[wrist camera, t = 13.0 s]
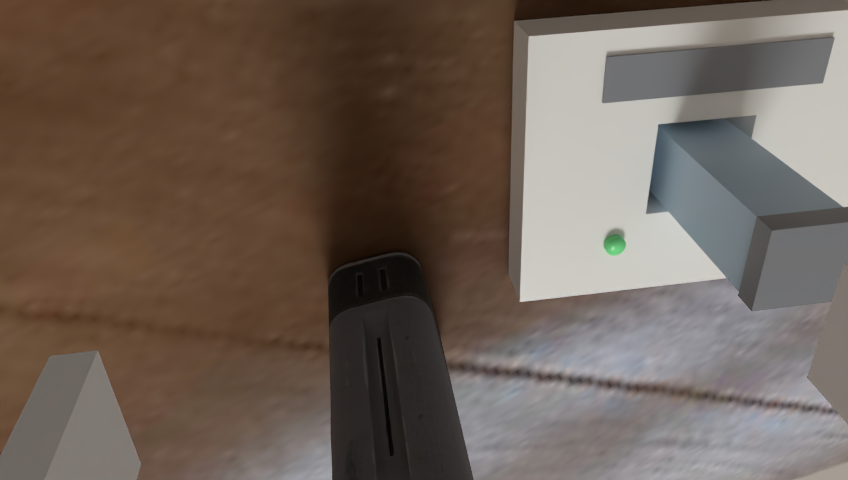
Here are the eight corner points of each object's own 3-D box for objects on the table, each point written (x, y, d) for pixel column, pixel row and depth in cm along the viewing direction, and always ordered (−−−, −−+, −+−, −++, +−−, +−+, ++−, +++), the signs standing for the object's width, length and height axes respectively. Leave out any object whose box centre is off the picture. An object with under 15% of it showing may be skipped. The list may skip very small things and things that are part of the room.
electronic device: (320, 266, 43) (322, 564, 26) (415, 242, 43) (479, 524, 26) (360, 376, 48) (383, 686, 31) (445, 354, 48) (514, 653, 31)
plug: (645, 114, 40) (772, 230, 29) (715, 108, 40) (867, 220, 29) (637, 180, 42) (751, 311, 31) (703, 173, 43) (840, 300, 32)
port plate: (513, 20, 36) (530, 38, 33) (873, -9, 38) (918, 6, 35) (508, 274, 45) (521, 305, 42) (803, 241, 46) (835, 269, 44)
